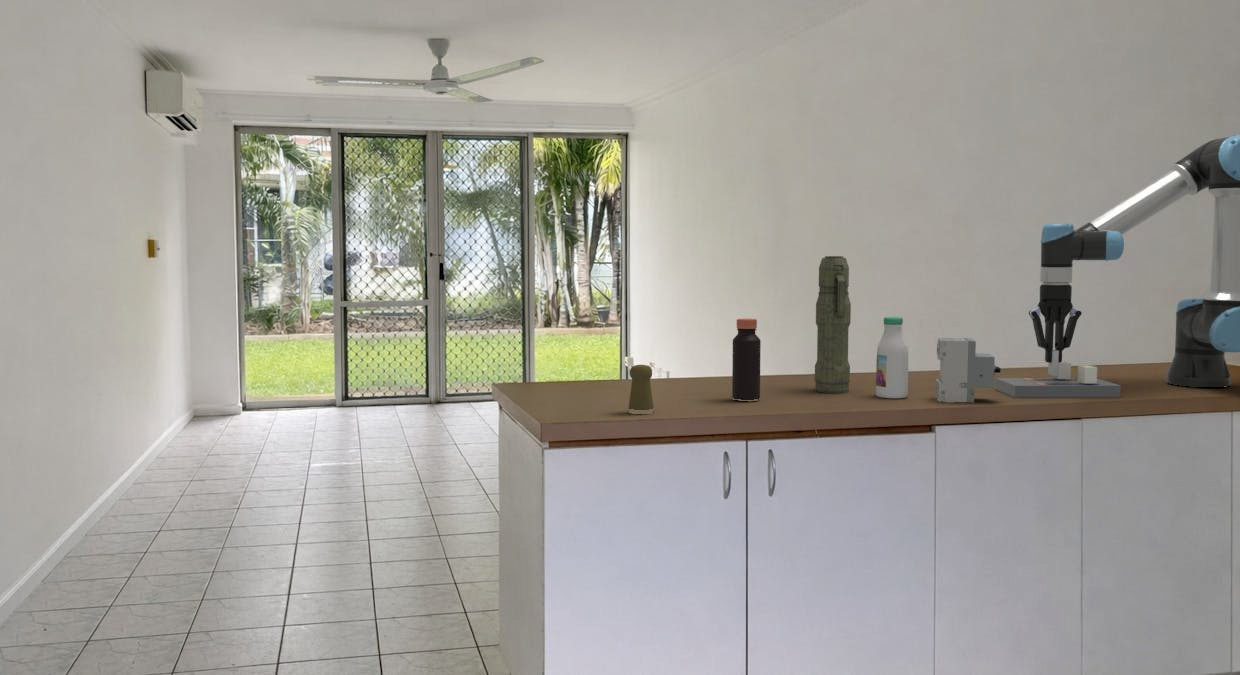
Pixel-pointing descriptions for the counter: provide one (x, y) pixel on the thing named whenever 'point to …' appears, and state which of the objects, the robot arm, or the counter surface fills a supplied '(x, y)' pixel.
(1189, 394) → the counter surface
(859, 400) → the counter surface
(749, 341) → the vinegar
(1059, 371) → the light grey block
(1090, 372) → the white block
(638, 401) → the olive green shaker
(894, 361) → the milk bottle
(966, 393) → the circuit breaker
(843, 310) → the thermos
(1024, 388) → the panel
